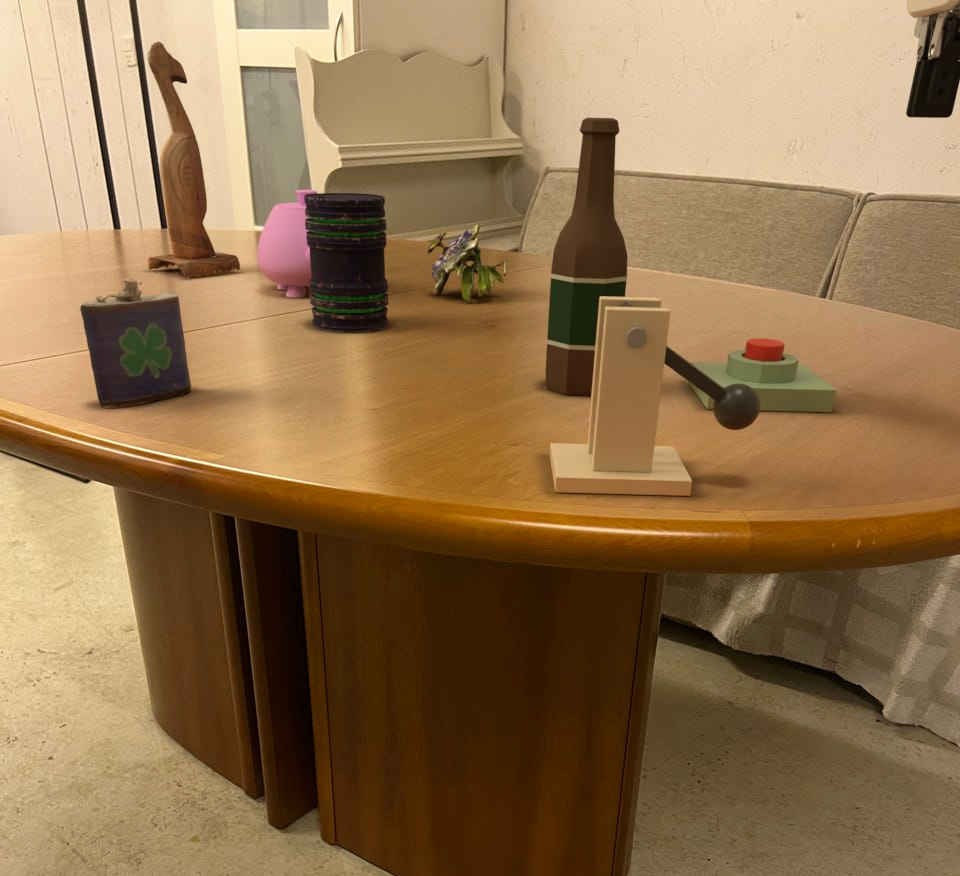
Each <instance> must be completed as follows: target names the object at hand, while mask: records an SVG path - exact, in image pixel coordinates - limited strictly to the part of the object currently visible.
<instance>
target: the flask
mask: <svg viewBox="0 0 960 876" xmlns="http://www.w3.org/2000/svg"><path fill="white" fill-rule="evenodd" d="M123 282H124V287H123V288H122V290H121V291H119V292H117V294H107V296H103V297H102V296H100V295H99V294H98V295H96V296H95V300H94V299H93V300H89V301H87V302H83V303H82V304H81V305H80V306H79V307H80V308H79V310H80V313H81V317H82V321H83V322H82V323H83V329H84V334H85V337H86V343H87V348H88V352H89V359H90V365H91V366H90V367H91V369H92V374H93V378H94V379H93V381H94V384H95V390H96V394H97V395H96V396H97V400H98V402H99V405H98V406H99V407H101V408H103V409H105V408H106V409H110V408H113V409H117V408H123V407H129V406H135V405H140V404H141V405H143V404H147V403H150V402H154V401H155V400H165V399H169V398H170V399H171V398H174V397H177V396H184V395H185V394H186V393H191V389H192V382H191V377H190V371H189V365H188V358H187V357H188V356H187V351H186V350H187V349H186V341H185V340H186V339H185V333H184V328H183V323H182V314H181V305H180V298H179V296H178V294H174V293H158V294H157V293H156V294H151V295H143V296H141V295H142V293H143V290H141V289H139V285H142V283H143V282H142V281H139V282H138V281H137V280H136V279H134V278H124V279H123ZM109 298H113V299H109Z"/></svg>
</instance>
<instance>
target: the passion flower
mask: <svg viewBox="0 0 960 876" xmlns="http://www.w3.org/2000/svg"><path fill="white" fill-rule="evenodd" d="M480 228H481V225H480V224H475V225H474V226H473V229H472V230H471V231H470V232H469V229H467V230H464V232H463V234H459V236H458V237H456V238H455V239H452V241H448V242H447V243H448V245H447V246H445V244H444V243H443V242H442V241H443V239H444V238H445V236H446V235H447V232H446V231H445V230H444V231H443V232H441V233H440V234H439V235H437V237H434V240H433V241H432V242H431V244H430V245H429V247H428V250H427V254H431V253H432V252H433V251H434V250H435V249H436V248H437V247H441V249H442V252H441V253H439V256H438V259H437V260H436V261H435V263H433V264H432V265H431V269H432V272H431V277H432V280H433V282H435V283H436V284H435V287H434V288H435V289H434V291H433V295H435V296H440V295H441V294H443V291H444V289H445V286H446V284H447V282H448V280H449V278H450V276H451V273H453V272H454V271H455V274H456V276H457V277H458V279H460V280H461V281H460V289H461V290H460V291H461V297H462V299H463V300H464V301H466V302H467V303H468V304H471V300H472V299H471V298H472V294H473V292H474V288H475V274H476V276H477V281H476V283H477V290H478V291H477V294H478V297H479V298H481V297H482V296H484V294H486V292H487V293H488V294H489V296H490V297H491V296H492V294H491V290H492V289H493V288H494V285H495V280H497V281H498V282H500V283H502V284H504V282H505V281H504V278H503V276H504V277H506V275H507V271H508V270H507V269H508V265H507V264H508V260H509V259H504V260H501V262H500V263H498V264H495V265H493V266H492V265H488V264H486V265H485V264H484V265H483V264H482V258H481V254H482V250H481V248H480V247H479V243H480V240H479V238H478V234H479V232H480ZM468 262H473V263H472V264H471V265H468V264H467V263H468ZM500 266H502V267H503V268H502V272H503V274H502V275H503V276H502V275H501V273H500V272H499V271H498V270H497V268H496V267H500Z"/></svg>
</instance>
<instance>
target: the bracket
mask: <svg viewBox="0 0 960 876" xmlns="http://www.w3.org/2000/svg"><path fill="white" fill-rule="evenodd" d="M624 301H626V302H627V303H628V304H630V305H631V306H632V307H621V305H622V304H623V302H624ZM670 319H671V310H670V308H668V307H662V299H661V298H659V297H643V296H642V297H637V296H625V297H607V296H601V297H600V298H599V310H598V322H597V334H596V346H595V358H594V370H593V382H592V394H591V396H590V408H589V417H588V418H589V419H588V430H587V431H588V432H587V441H586V443H560V442H559V443H557V442H551V443H550V445H549V449H550V450H549V461H550V468H551V474H552V480H553V481H552V482H553V486H554V492H555V493H568V494H601V495H602V494H606V495H638V496H639V495H642V496H643V495H645V496H681V497H689V496H691V491H692V485H693V480H692V478H691V476H690V474H689V472H688V470H687V468H686V467H685V465H684V463H683V461H682V459H681V457H680V455H679V453H678V451H677V450H676V448H675V446H674V445H673V446H669V445H655V444H656V437H657V427H658V418H659V411H660V402H661V393H662V387H663V377H664V368H665V364H664V362H665V353H666V345H667V344H668V337H669V327H670ZM667 346H668V345H667Z"/></svg>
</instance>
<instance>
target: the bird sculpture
mask: <svg viewBox="0 0 960 876" xmlns="http://www.w3.org/2000/svg"><path fill="white" fill-rule="evenodd" d="M147 62H148V66H149V68H150V71H151V73H152V75H153V77H154V80H155V81H156V84H157V87H158V90H159V93H160V95H161V99H162V102H163V104H164V107H165V109H166V113H167V118H168V121H169V125H170V131H171V132H170V134H169V135H168V137H167V138H166V140H165V142H164V143H163V146H162V149H161V153H160V156H159V175H160V182H161V190H162V196H163V197H162V198H163V199H162V200H163V205H164V211H165V217H166V224H167V229H168V236H169V240H170V245H171V251H172V253H171V254H166V255H157V256H156V255H155V256H151V257H148V258H147V265H148V267H147V269H148V270H150V271H151V270H159V269H162V268H164V267H165V268H170V267H175V266H177V267H178V268H179V270H180V271H181V273H182V274H183V277H185V279H187V276H188V277H189V278H190V279H192V277H194V276H195V277H196V278H197V277H199V278H200V277H201V276H202V275H203V276H209V275H211V274H212V275H216V274H222V273H226V272H228V273H229V272H232V271H234V272H235V271H239V270H241V263H240V259H239V258H238V256H237V255H235V254H228V253H224V252H220V251H216V250H215V249H214V246H213V243H212V241H211V238H210V236H209V234H208V232H207V229H206V228H205V225H204V220H205V217H206V215H207V210H208V199H207V191H206V183H205V177H204V169H203V163H202V158H201V152H200V148H199V147H200V145H199V143H198V140H197V137H196V134H195V130H194V128H193V126H192V123H191V120H190V118H189V116H188V114H187V112H186V110H185V108H184V105H183V103H182V101H181V98H180V96H179V94H178V92H177V90H176V88H175V86H174V83H175V82H176V83H177V82H178V83H179V84H185V85H187V84H188V79H187V75H186V72H185V69H184V68H183V65H182V64H181V62H179V60H177V59H175V58H174V57H173V56H172V55H171V53H169V52H168V51H167V49H166V47H165V45H164V44H163V43H162V42H161V41H156V42H153V43H152V44H150V49H149V51H148V52H147Z"/></svg>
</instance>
